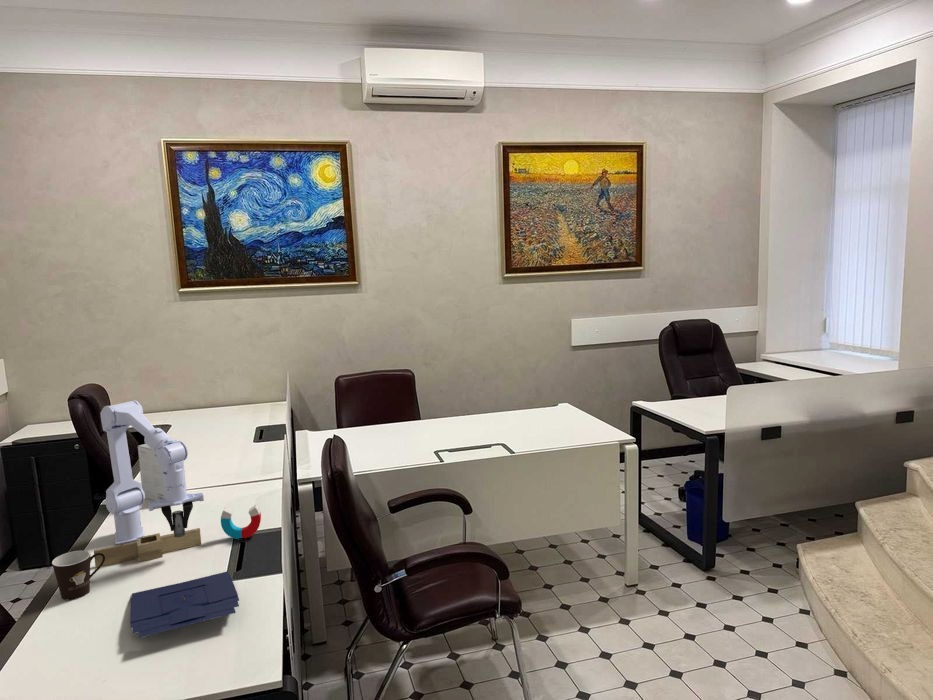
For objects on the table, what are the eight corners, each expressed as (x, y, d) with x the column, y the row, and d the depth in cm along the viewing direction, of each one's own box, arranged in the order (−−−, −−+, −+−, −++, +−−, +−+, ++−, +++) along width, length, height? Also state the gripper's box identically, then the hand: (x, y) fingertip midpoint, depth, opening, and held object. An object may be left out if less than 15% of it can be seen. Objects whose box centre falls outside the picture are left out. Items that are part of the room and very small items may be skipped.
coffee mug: (54, 605, 162) (50, 569, 161) (58, 590, 170) (53, 555, 168) (106, 594, 168) (102, 558, 166) (107, 579, 175) (104, 545, 174)
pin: (173, 534, 187) (171, 511, 186) (184, 532, 189) (182, 509, 188) (174, 538, 185) (172, 515, 183) (185, 535, 186) (183, 513, 185)
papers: (130, 652, 141) (128, 636, 140) (131, 603, 167) (130, 590, 167) (245, 621, 152) (243, 607, 152) (229, 580, 178) (228, 567, 178)
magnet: (222, 541, 197) (219, 510, 196) (223, 537, 200) (221, 507, 198) (261, 537, 200) (259, 507, 198) (262, 533, 202) (260, 503, 201)
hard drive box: (185, 498, 233) (181, 446, 230) (166, 505, 226) (161, 451, 223) (161, 490, 241) (156, 440, 238) (141, 497, 235) (136, 445, 232)
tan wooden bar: (95, 562, 185) (94, 546, 184) (199, 540, 198) (198, 524, 198) (95, 571, 180) (93, 555, 179) (202, 547, 193) (201, 532, 192)
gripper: (147, 493, 177) (152, 539, 179) (203, 483, 184) (207, 527, 186) (146, 485, 183) (150, 530, 185) (200, 476, 190) (204, 519, 192)
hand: (178, 528), depth 186 cm, fingers closed on pin, 3 cm apart
